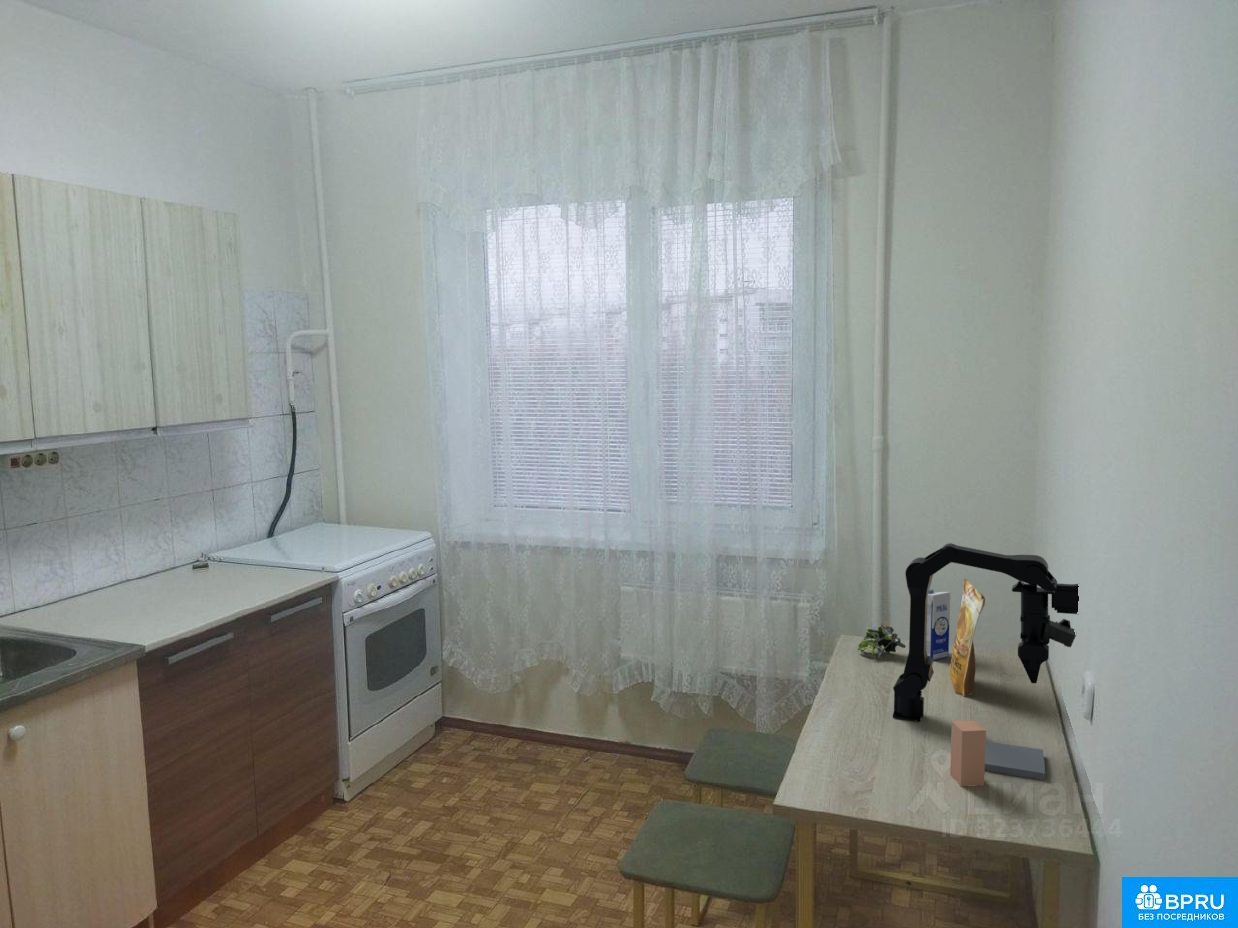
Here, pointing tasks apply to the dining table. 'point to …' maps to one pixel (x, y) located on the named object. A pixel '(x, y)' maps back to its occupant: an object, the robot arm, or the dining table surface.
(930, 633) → the milk carton
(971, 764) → the terracotta block
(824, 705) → the dining table surface
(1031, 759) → the slate board
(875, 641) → the green leafy clump
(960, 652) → the pancake mix bag
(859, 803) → the dining table surface
